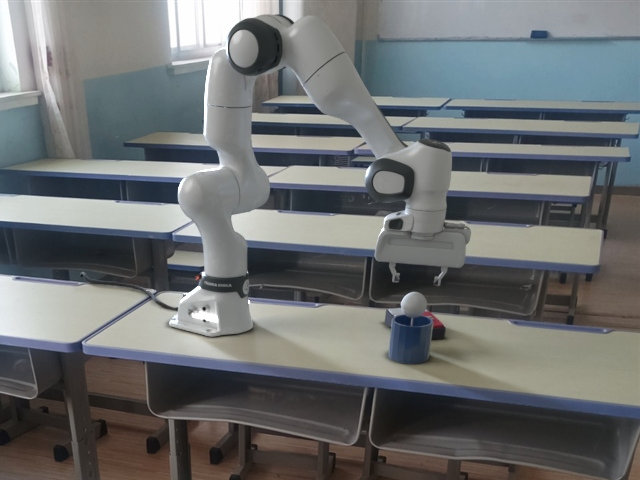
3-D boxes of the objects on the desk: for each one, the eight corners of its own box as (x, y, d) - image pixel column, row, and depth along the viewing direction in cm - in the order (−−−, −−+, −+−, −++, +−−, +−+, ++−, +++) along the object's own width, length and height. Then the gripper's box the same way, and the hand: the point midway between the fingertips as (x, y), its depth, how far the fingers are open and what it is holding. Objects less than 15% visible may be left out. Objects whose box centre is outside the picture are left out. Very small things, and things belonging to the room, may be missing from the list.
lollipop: (409, 348, 197) (415, 287, 189) (426, 355, 193) (434, 293, 185) (390, 353, 194) (396, 291, 186) (407, 360, 190) (414, 297, 182)
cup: (383, 360, 192) (387, 323, 187) (395, 347, 200) (398, 311, 195) (422, 366, 189) (427, 329, 184) (433, 353, 196) (437, 317, 191)
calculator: (406, 327, 201) (385, 306, 213) (403, 343, 203) (384, 322, 215) (447, 324, 202) (424, 304, 214) (444, 340, 205) (422, 319, 217)
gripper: (472, 221, 177) (462, 283, 185) (380, 214, 182) (374, 276, 189) (471, 227, 172) (461, 291, 180) (376, 220, 177) (370, 283, 184)
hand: (416, 283), depth 185 cm, fingers open, 8 cm apart
